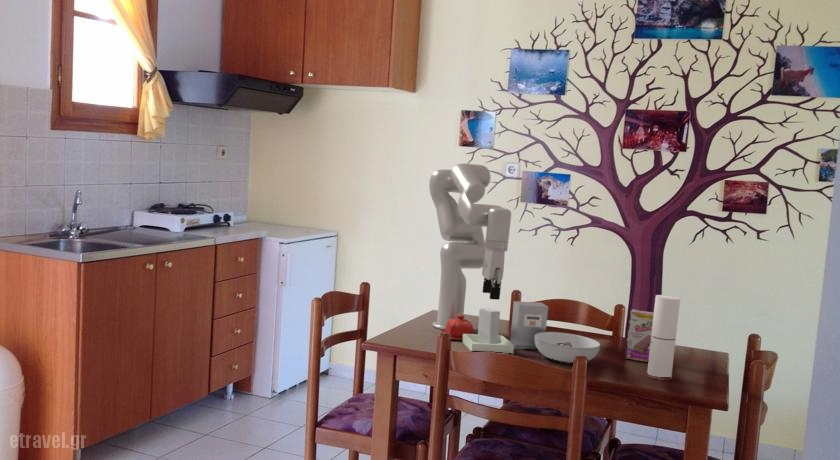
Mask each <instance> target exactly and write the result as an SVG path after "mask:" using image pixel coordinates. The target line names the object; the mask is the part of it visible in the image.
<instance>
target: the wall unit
mask: <svg viewBox="0 0 840 460" xmlns="http://www.w3.org/2000/svg"><path fill="white" fill-rule="evenodd" d="M548 311H549V306H548V305H546V304H544V303H543V302H538V301H537V302H536V301H535V302H532V301H516V300H515V301H513V307H512V315H511V316H512V317H511V328H510V338H509V339H507V340H508V341H509V342H510V343H512V344H513V345H514V350H524V349H537V347H536V345H535V335H536V334H537V333H542V332H547V323H548V313H549V312H548Z"/></svg>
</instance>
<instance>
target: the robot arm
mask: <svg viewBox="0 0 840 460" xmlns="http://www.w3.org/2000/svg"><path fill="white" fill-rule="evenodd" d="M491 179H492V177H491V172H490V170H489V168H488V167H486V166H485V165H483V164H472V163H459V164H456V165H454V167H452V169H445V168H444V169H437V170H435V171H433V172H432V173H431V175H430V178H429V185H428V186H429V195H430V197H431V199H432V202H433V204H434V207H435V210H436V217H437V221H438V222H437V223H438V227H439V233H440V236H441V238H442V240H444V241H447V242H446V243H445V244H443V245H442V247H441V248H440V254H439V258H440V282H439V283H440V284H439V295H438V304H437V305H438V307H437V318H436V320H434V321H433V322H432V327H433V328H436V329H440V330H445V328H446V325H447V322H448V320H450V319H455V318H458V317H457V315H459V314H462V315H464V314H465V313H464V312H465V304H466V303H465V301H466V291H467V290H466V289H467V278H466V275H465V274H464V272H463V269H469V270H473V269H477V270H478V269H482V270H481V275H482V277H483V285H482V293H483V294H489V299H490V300H498V301H499V300H500V298H501V297H500V296H501V290H502V281H503V277H504V269H505V254H506V252H508V247H509V238H510V230H511V221H512V211H511V210H510V209H509V208H505V207H504V208H503V207H502V206H501V205H495V204H485V203H484V204H482V203H479V201H481V199H482V198H484V196H485V193H486V188H487V187H488V186H489V184H490V182H491ZM450 193H455V194H457V193H459V194H460V196H459V198H458V200H457V201H458V203H457V201H456V199H455V198H454V197H453V196H452V195H451V194H450ZM477 202H478V203H477ZM483 227H486V233H485V235H484V231H483ZM464 316H465V315H464Z"/></svg>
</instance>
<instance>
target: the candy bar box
mask: <svg viewBox="0 0 840 460" xmlns="http://www.w3.org/2000/svg"><path fill="white" fill-rule="evenodd" d="M653 316H654V312H651V311H646V310H645V311H644V310H638V309H630V312H629V319H628V320H629V321H628V326H627V334H626V336H627V337H626V342H625V343H626V344H625V352H624V358H625V357H630V358H637V359H644V360H649V352H650V343H651V334H652V325H653Z"/></svg>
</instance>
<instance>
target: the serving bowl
mask: <svg viewBox="0 0 840 460" xmlns="http://www.w3.org/2000/svg"><path fill="white" fill-rule="evenodd" d="M566 342H570V343H571V345H572V347H569V346H562V345H557V343H566ZM535 345H536V347H537V349H538V350H537V351H538V352H539V353H540V354H541V355H542V356H544V357H546V358H548V359H551V360H552V359H553V360H552V361H555V360H557V361H562V362H569V363H568V364H570V363H573V360H574V358H575V356H586V357H587V359H588V361H587V362H589V361H591V360H593V359H594V358H596V356H597V355H598V354H599V352H600V348H601V344H600V342H598V341H597V340H595V339H594V338H589V337H586V336H583V335H579V334H573V333H568V332H557V331H546V332H542V333H537V334H536V335H535ZM557 361H556V362H557ZM562 362H561V363H562Z"/></svg>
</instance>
